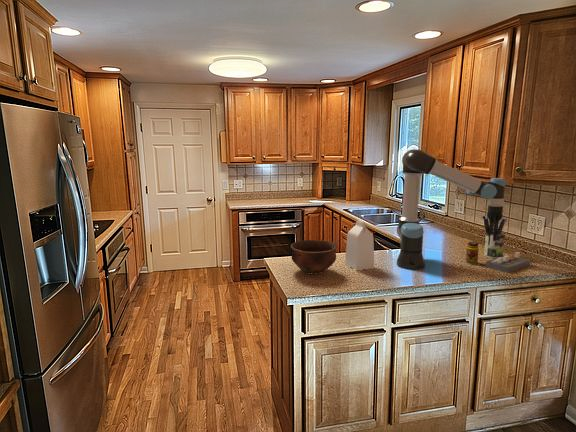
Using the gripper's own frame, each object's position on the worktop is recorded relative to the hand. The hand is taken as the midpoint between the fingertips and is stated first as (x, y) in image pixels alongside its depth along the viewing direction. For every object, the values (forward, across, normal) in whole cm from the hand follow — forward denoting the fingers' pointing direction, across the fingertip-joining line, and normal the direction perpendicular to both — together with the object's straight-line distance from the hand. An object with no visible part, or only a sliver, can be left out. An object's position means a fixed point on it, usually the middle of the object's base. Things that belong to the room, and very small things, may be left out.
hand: (492, 245), depth 215 cm
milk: (+10, +36, +69) cm, 79 cm away
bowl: (+10, +43, +96) cm, 106 cm away
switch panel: (+9, -10, 0) cm, 14 cm away
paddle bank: (+6, -10, 0) cm, 12 cm away
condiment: (+10, +5, +11) cm, 16 cm away
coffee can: (+10, +5, -12) cm, 16 cm away
